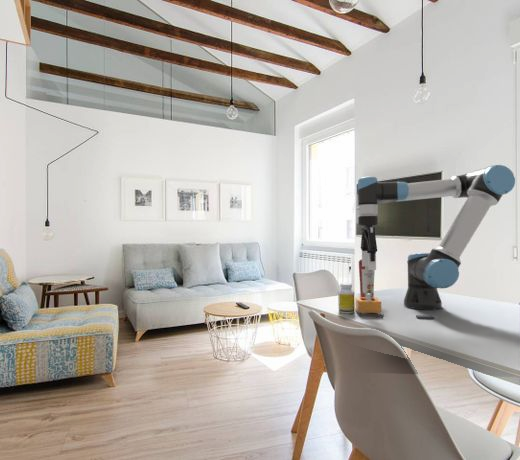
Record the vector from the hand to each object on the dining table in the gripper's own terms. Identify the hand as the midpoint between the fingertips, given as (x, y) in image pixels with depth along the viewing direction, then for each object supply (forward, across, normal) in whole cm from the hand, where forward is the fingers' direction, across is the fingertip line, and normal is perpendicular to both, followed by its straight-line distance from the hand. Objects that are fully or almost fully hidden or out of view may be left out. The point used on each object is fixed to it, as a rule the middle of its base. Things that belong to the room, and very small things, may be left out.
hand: (368, 268), depth 144 cm
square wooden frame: (+17, 0, -1) cm, 17 cm away
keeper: (+18, 0, 0) cm, 18 cm away
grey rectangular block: (+18, +7, +19) cm, 27 cm away
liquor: (+18, -24, +4) cm, 31 cm away
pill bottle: (+18, -2, -9) cm, 21 cm away
